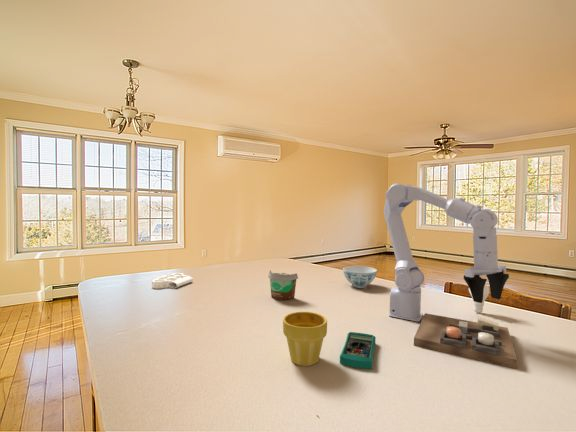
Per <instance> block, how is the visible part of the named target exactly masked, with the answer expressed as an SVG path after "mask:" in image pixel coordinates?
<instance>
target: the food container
mask: <svg viewBox="0 0 576 432" xmlns="http://www.w3.org/2000/svg"><path fill="white" fill-rule="evenodd" d="M267 277H268V279H269V285H270V295H271V297H270V298H272V299H273V300H275V301H290V300H293V299H295V294H296V284H297V279H299V276H298V273H297V272H296V273H291V274H288V273H285V272H272V270H269V271H268V276H267Z"/></svg>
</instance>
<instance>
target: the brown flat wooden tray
mask: <svg viewBox="0 0 576 432" xmlns="http://www.w3.org/2000/svg"><path fill="white" fill-rule="evenodd" d="M459 321H464V322H468V323H467V334H463V333H461V337H460V338H451V337H448V336H447V335H446V332H447V327H449V326H451V327H457V328H459ZM480 332H484V333H489V334H491V335H493V336H494V342H493V345H485V344H482V343H480V342H478V333H480ZM511 337H512V336H511V334H510V331H509V328H508V327H505V326H500V325H499V330H498V331H496V330H493V327H492V326H486V325H483V326H480V325H477V321H471V320H467V319H466V320H465V319H460V318H455V317H454V318H453V317H450V316H449V317H448V316H442V315H439V314H437V315H436V314H432V313H427V312H424V313H423V316H422V318H421V320H420V323H419V325H418V328H417V330H416V332H415V335H414V337H413V346H416V347H421V348H424V349H429V350H434V351H438V352H441V353H446V354H450V355H455V356H460V357H463V358H469V359H473V360H477V361H478V360H479V361H482V362H487V363H490V364H495V365H499V366H502V367H504V366H505V367H508V368H512V369H517V366H518V358H517V355H516V351H515V348H514V345H513V340H512V339H511Z"/></svg>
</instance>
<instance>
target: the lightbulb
mask: <svg viewBox="0 0 576 432" xmlns="http://www.w3.org/2000/svg"><path fill="white" fill-rule="evenodd" d="M468 292H469V294H470V296H471V299H472V305H473V311H474V312H475V313H477V314H480V313H482V312H483V309H484V306H485V301H486V299H487V298H488V297H489V295H490V286H488V285H487V284H486V283H485V286H484V290H483V301H482V303H478V302H474V300H473V297H472V294H471V291H470V288H469V287H468Z"/></svg>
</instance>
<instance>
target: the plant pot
mask: <svg viewBox="0 0 576 432" xmlns="http://www.w3.org/2000/svg"><path fill="white" fill-rule="evenodd" d="M282 332H283V334H284V336H285V338H286V341H287V346H288V353H289V356H290V360H291V362H292V364H293V363H294V364H295V365H298V366H303V367H307V366H313V365H315V364H317V363H318V362H319V359H320V355H321V351H322V347H323V343H324V342H323V341H324V338H325V337H326V336H327V332H328V320H327V318H326V316H324V315H323V314H321V313H317V312H314V311H294V312H291V313H288V314H286V315H285V316H284V317H283V319H282Z"/></svg>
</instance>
